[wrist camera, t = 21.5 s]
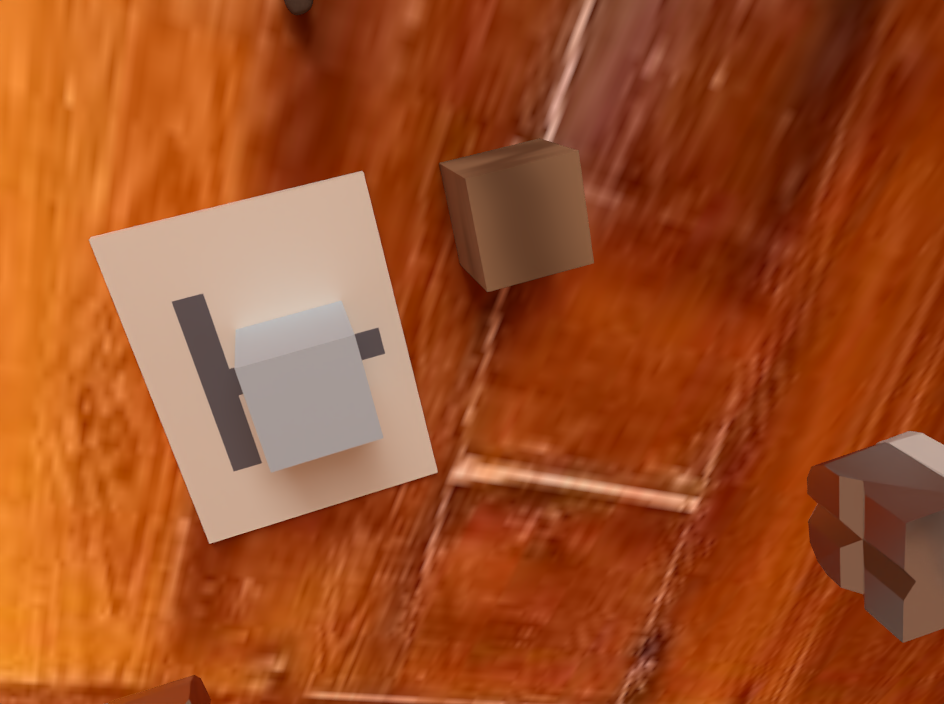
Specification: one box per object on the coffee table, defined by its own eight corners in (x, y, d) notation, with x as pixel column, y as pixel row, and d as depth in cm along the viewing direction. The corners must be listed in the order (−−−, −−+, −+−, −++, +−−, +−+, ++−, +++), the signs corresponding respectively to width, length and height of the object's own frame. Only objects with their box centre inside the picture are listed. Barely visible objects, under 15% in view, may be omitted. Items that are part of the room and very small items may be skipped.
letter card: (362, 170, 36) (363, 172, 36) (435, 467, 43) (437, 472, 42) (90, 237, 34) (88, 239, 34) (209, 538, 41) (209, 543, 40)
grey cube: (341, 300, 38) (354, 334, 33) (367, 394, 40) (383, 437, 35) (235, 329, 37) (234, 368, 32) (267, 423, 39) (270, 472, 34)
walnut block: (539, 138, 38) (578, 150, 34) (554, 238, 40) (593, 262, 36) (438, 163, 37) (465, 178, 33) (459, 264, 39) (487, 292, 35)
